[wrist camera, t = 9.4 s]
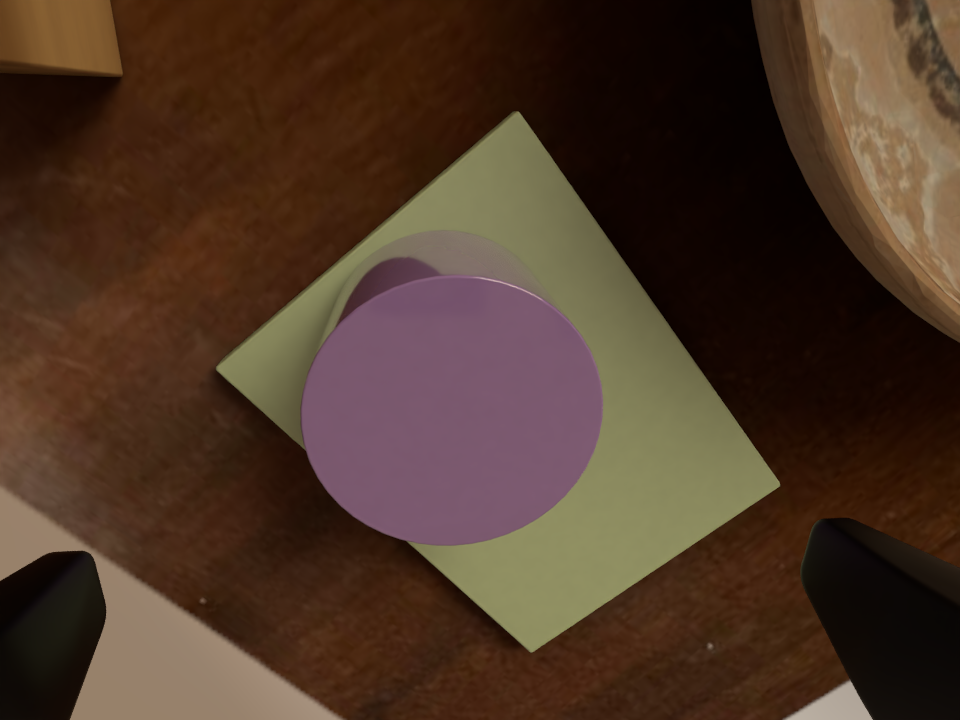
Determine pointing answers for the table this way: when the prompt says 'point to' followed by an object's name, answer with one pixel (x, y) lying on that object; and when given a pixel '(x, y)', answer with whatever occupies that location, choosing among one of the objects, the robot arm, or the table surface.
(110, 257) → the table surface
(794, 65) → the ceramic bowl
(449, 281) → the purple round puck
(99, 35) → the block
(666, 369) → the placemat
